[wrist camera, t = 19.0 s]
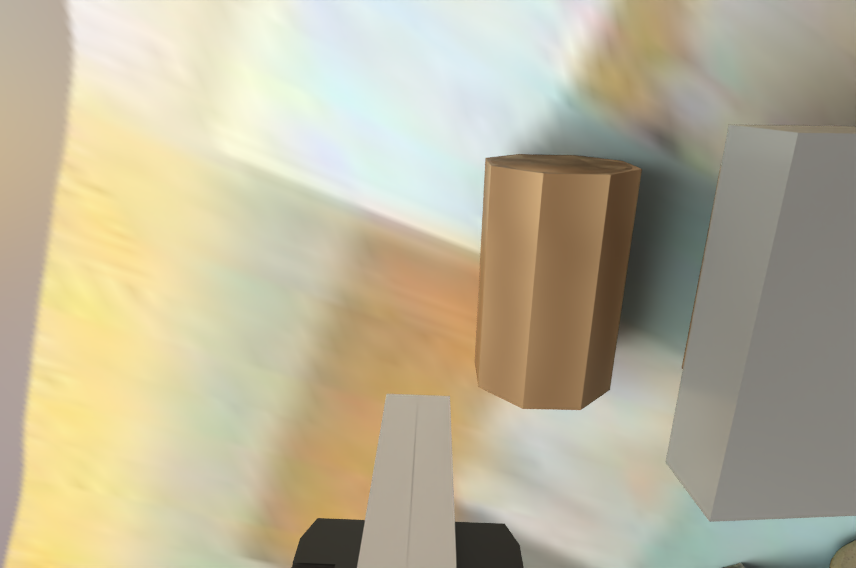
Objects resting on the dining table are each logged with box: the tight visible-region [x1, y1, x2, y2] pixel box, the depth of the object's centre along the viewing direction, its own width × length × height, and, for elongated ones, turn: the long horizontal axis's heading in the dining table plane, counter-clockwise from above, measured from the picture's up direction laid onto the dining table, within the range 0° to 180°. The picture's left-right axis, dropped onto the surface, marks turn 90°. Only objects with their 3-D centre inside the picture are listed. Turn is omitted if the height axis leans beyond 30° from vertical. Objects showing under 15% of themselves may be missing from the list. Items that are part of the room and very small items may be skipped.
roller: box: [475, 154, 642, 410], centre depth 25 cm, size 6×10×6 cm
